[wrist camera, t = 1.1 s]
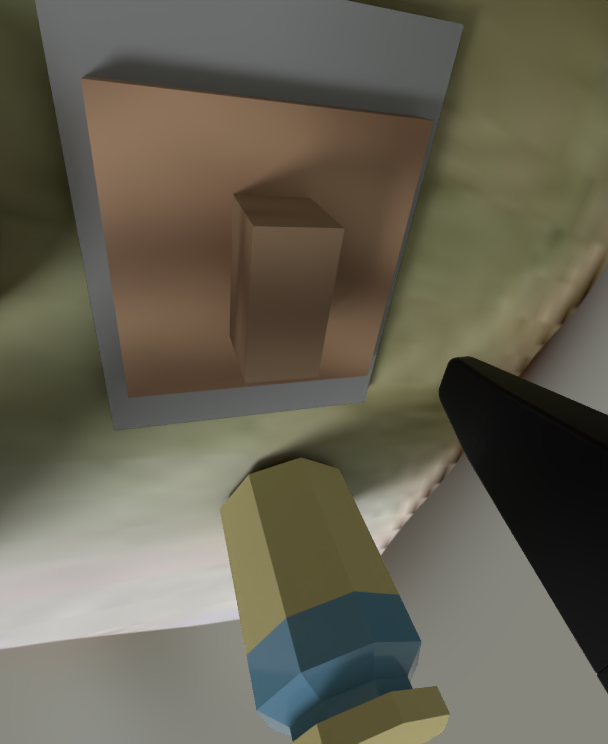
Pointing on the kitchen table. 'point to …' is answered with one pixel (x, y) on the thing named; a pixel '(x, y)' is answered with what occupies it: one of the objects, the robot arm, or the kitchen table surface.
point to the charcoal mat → (244, 77)
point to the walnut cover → (247, 232)
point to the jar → (323, 614)
